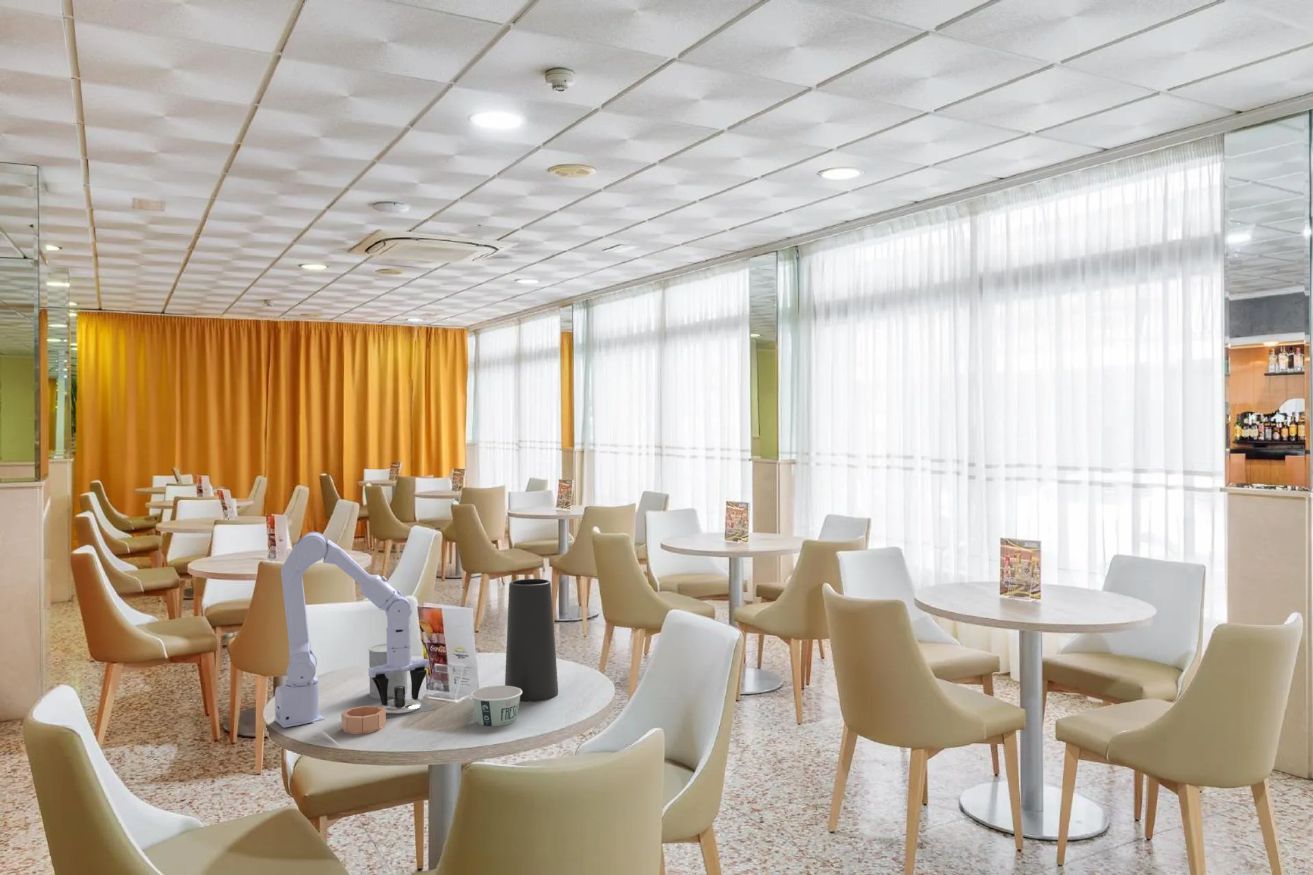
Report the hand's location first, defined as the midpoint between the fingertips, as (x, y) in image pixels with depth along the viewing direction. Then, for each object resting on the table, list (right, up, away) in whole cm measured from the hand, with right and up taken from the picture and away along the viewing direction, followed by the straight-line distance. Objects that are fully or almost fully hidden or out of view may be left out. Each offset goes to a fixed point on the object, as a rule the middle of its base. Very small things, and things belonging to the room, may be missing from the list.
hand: (399, 701), depth 228 cm
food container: (+25, -2, -9) cm, 27 cm away
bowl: (-4, -2, -14) cm, 15 cm away
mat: (0, -2, 0) cm, 2 cm away
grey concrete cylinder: (-7, -2, +14) cm, 15 cm away
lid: (0, -2, 0) cm, 2 cm away
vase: (+30, -2, +13) cm, 33 cm away
